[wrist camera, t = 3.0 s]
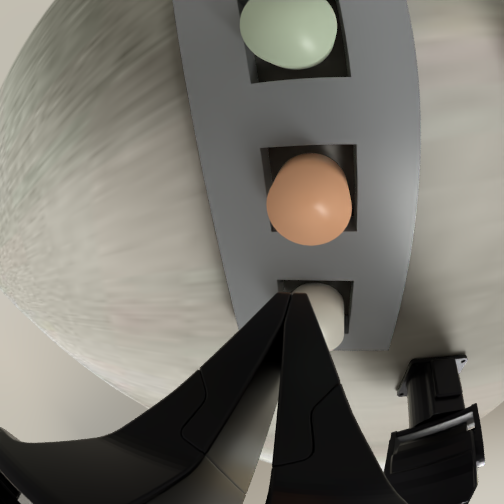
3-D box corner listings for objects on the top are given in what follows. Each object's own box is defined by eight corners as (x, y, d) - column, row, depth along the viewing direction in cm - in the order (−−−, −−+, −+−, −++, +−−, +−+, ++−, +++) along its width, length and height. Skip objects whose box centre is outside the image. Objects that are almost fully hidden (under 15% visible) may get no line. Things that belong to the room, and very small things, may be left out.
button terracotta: (348, 220, 16) (351, 245, 14) (279, 220, 17) (271, 245, 15) (346, 151, 14) (351, 165, 12) (271, 154, 15) (261, 169, 13)
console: (386, 332, 22) (388, 350, 20) (248, 327, 25) (242, 344, 23) (389, -26, 9) (396, -37, 7) (186, -4, 12) (170, -12, 10)
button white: (342, 325, 20) (341, 354, 18) (289, 323, 21) (283, 352, 19) (345, 283, 18) (346, 312, 16) (285, 282, 19) (278, 310, 17)
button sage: (339, 68, 12) (343, 63, 9) (260, 73, 13) (246, 71, 10) (328, -1, 10) (328, -19, 7) (249, 6, 11) (233, -8, 8)
